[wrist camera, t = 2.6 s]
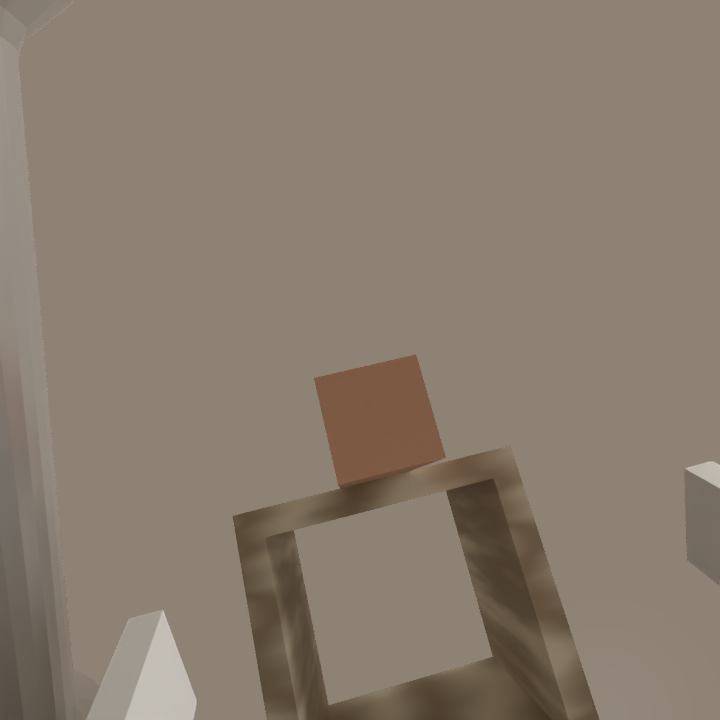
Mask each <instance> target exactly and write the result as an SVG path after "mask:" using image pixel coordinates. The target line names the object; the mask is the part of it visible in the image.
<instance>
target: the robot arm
mask: <svg viewBox="0 0 720 720" xmlns="http://www.w3.org/2000/svg"><path fill="white" fill-rule="evenodd" d="M74 1H75V0H0V720H193V719H194V714H195V709H196V704H197V701H196V698H195V695H194V692H193V690H192V687H191V684H190V682H189V679H188V676H187V674H186V671H185V668H184V665H183V663H182V660H181V657H180V655H179V652H178V649H177V647H176V644H175V641H174V638H173V636H172V633H171V631H170V628H169V625H168V622H167V620H166V617H165V615H164V611H163V610H159V611H156V612H152V613H148V614H145V615H141V616H137V617H133V618H130V619H129V620H128V622H127V624H126V627H125V629H124V631H123V634H122V636H121V638H120V641H119V643H118V646H117V648H116V650H115V653H114V655H113V657H112V660H111V662H110V664H109V667H108V669H107V671H106V674H105V676H104V679H103V681H102V683H101V685H100V686H99V685H98V684H97V683H96V682H95V681H94V680H92V679H91V678H89V677H87V676H86V675H84V674H82V673H80V672H78V671H76V670H74V669H73V664H72V654H71V642H70V632H69V620H68V609H67V598H66V588H65V576H64V565H63V555H62V544H61V533H60V522H59V511H58V500H57V490H56V479H55V468H54V457H53V446H52V434H51V424H50V413H49V401H48V390H47V379H46V368H45V356H44V345H43V334H42V322H41V311H40V300H39V289H38V278H37V266H36V256H35V244H34V233H33V222H32V211H31V199H30V188H29V177H28V165H27V154H26V143H25V132H24V121H23V109H22V98H21V87H20V77H19V76H20V75H19V65H18V60H19V57H20V53H21V48H22V44H23V42H24V41H25V40H27V39H28V38H29V37H31V36H32V35H33V34H35V33H36V32H37V31H38V30H40V29H41V28H42V27H44V26H45V25H46V24H48V23H49V22H50V21H52V20H53V19H54V18H55V17H57V16H58V15H59V14H61V13H62V12H63V11H64V10H66V9H67V8H68V7H69V6H70V5H71V4H72V3H73V2H74ZM684 473H685V508H686V539H687V540H686V542H687V560H688V561H689V562H690V563H692V564H693V565H694V566H695V567H697V568H698V569H699V570H700V571H702V572H703V573H704V574H706V575H707V576H708V577H709V578H711V579H712V580H713V581H714V582H716V583H717V584H718V585H719V586H720V465H718V464H717V463H715V462H713V461H710V462H706V463H702V464H699V465H695V466H691V467H688V468H685V469H684Z"/></svg>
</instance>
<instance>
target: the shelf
mask: <svg viewBox="0 0 720 720" xmlns="http://www.w3.org/2000/svg"><path fill="white" fill-rule="evenodd" d="M442 491H446V492H447V496H448V499H449V503H450V506H451V510H452V513H453V517H454V520H455V524H456V527H457V531H458V534H459V538H460V541H461V545H462V549H463V552H464V556H465V559H466V563H467V566H468V570H469V573H470V577H471V580H472V584H473V587H474V591H475V594H476V598H477V602H478V605H479V609H480V612H481V615H482V619H483V622H484V626H485V630H486V633H487V636H488V640H489V644H490V647H491V651H492V655H493V657H491V658H488V659H484V660H481V661H477V662H474V663H471V664H468V665H464V666H461V667H457V668H454V669H450V670H447V671H444V672H440V673H437V674H434V675H430V676H427V677H424V678H420V679H417V680H413V681H410V682H407V683H403V684H400V685H397V686H393V687H390V688H386V689H383V690H380V691H376V692H373V693H369V694H366V695H363V696H359V697H356V698H353V699H349V700H346V701H342V702H339V703H336V704H332V705H328V700H327V696H326V690H325V685H324V681H323V675H322V670H321V665H320V660H319V655H318V650H317V645H316V640H315V635H314V630H313V625H312V620H311V615H310V610H309V605H308V600H307V595H306V590H305V585H304V580H303V575H302V569H301V564H300V559H299V554H298V549H297V545H296V539H295V535H294V530H296V529H299V528H304V527H307V526H311V525H315V524H319V523H323V522H327V521H331V520H334V519H338V518H342V517H346V516H349V515H354V514H358V513H361V512H365V511H369V510H373V509H377V508H381V507H384V506H388V505H392V504H395V503H399V502H404V501H408V500H411V499H415V498H419V497H423V496H427V495H431V494H434V493H438V492H442ZM233 521H234V526H235V533H236V539H237V544H238V551H239V556H240V562H241V568H242V574H243V580H244V586H245V592H246V598H247V604H248V610H249V616H250V622H251V628H252V634H253V639H254V645H255V651H256V657H257V663H258V669H259V674H260V681H261V686H262V693H263V699H264V705H265V710H266V717H267V720H599V717H598V715H597V711H596V708H595V705H594V702H593V699H592V696H591V693H590V690H589V687H588V684H587V680H586V677H585V674H584V671H583V668H582V665H581V662H580V659H579V656H578V653H577V650H576V646H575V643H574V640H573V637H572V634H571V631H570V628H569V625H568V622H567V619H566V616H565V613H564V610H563V606H562V603H561V600H560V597H559V594H558V591H557V588H556V585H555V582H554V579H553V576H552V573H551V570H550V566H549V563H548V560H547V557H546V554H545V551H544V548H543V545H542V542H541V539H540V536H539V532H538V529H537V526H536V523H535V520H534V517H533V514H532V511H531V508H530V505H529V502H528V499H527V496H526V492H525V489H524V487H523V483H522V480H521V477H520V474H519V471H518V468H517V465H516V462H515V459H514V456H513V452H512V449H511V446H507V447H503V448H499V449H495V450H491V451H487V452H484V453H480V454H476V455H471V456H467V457H463V458H460V459H456V460H452V461H448V462H444V463H440V464H436V465H432V466H428V467H424V468H420V469H416V470H412V471H408V472H404V473H400V474H396V475H393V476H389V477H385V478H381V479H377V480H373V481H369V482H365V483H361V484H357V485H353V486H349V487H345V488H341V489H337V490H334V491H329V492H325V493H322V494H318V495H314V496H310V497H306V498H302V499H298V500H294V501H290V502H287V503H282V504H278V505H274V506H270V507H266V508H262V509H258V510H255V511H251V512H247V513H243V514H239V515H235V516H233Z"/></svg>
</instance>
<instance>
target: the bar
mask: <svg viewBox="0 0 720 720" xmlns="http://www.w3.org/2000/svg"><path fill="white" fill-rule="evenodd" d="M314 380H315V384H316V389H317V393H318V397H319V402H320V407H321V411H322V415H323V420H324V424H325V429H326V433H327V437H328V442H329V445H330V450H331V455H332V459H333V464H334V468H335V473H336V477H337V481H338V485H339V487H340V489H341V488H345V487H349V486H353V485H357V484H361V483H365V482H369V481H373V480H377V479H381V478H385V477H389V476H393V475H396V474H400V473H404V472H408V471H411V470H414V469H416V468H419V467H422V466H425V465H427V464H430V463H433V462H435V461H438V460H441V459H443V458H445V453H444V450H443V446H442V443H441V439H440V436H439V432H438V429H437V425H436V422H435V419H434V415H433V412H432V408H431V405H430V401H429V398H428V394H427V391H426V387H425V384H424V380H423V377H422V374H421V370H420V366H419V363H418V359H417V356H416V355H412V356H408V357H403V358H399V359H395V360H390V361H386V362H382V363H377V364H373V365H369V366H364V367H360V368H356V369H351V370H347V371H343V372H338V373H334V374H330V375H326V376H321V377H317V378H314Z"/></svg>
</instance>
